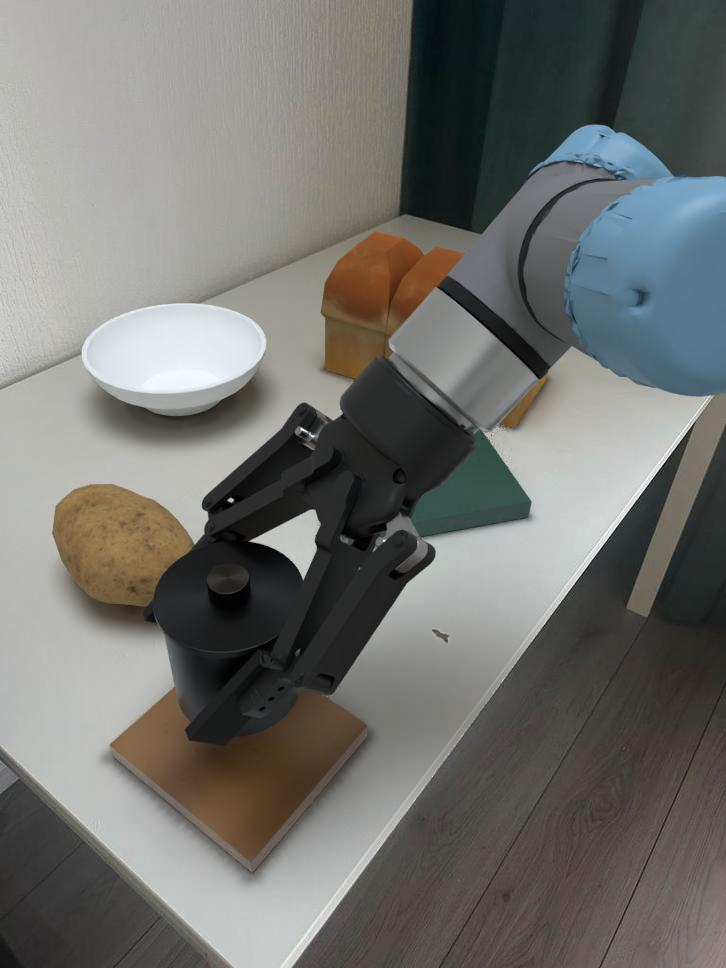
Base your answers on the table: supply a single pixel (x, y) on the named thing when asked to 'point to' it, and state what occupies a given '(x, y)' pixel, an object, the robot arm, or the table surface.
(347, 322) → the bread
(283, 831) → the board
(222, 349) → the bowl
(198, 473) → the table surface
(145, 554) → the potato
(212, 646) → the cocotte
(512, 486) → the green rectangular slab
